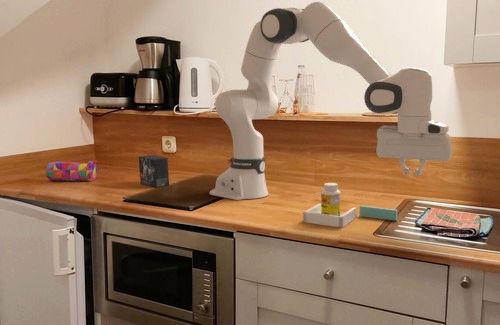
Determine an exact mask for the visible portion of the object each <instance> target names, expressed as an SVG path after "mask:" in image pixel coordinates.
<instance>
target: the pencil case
mask: <svg viewBox="0 0 500 325" xmlns="http://www.w3.org/2000/svg"><path fill="white" fill-rule="evenodd" d="M97 162H98V161H97V160H94V161H91V160H89V161H88V162H76V161H75V162H74V161H73V162H70V161H52V162H48V164H47V166H46V169H45V174H46V177H47V179H48V180H49V181H51V182H52V181H53V182H54V181H59V182H93V181H95V180H96V179H97V176H98V175H97V173H99V171H100V168H97V165H96V163H97Z"/></svg>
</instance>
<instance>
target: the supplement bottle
mask: <svg viewBox="0 0 500 325" xmlns="http://www.w3.org/2000/svg"><path fill="white" fill-rule="evenodd" d="M338 187H339V185H338V183H336V182H325V183H324V184H323V190H321V196H320V197H321V214H328V215H336V216H340V214H341V191H340V190H339V188H338Z"/></svg>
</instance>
